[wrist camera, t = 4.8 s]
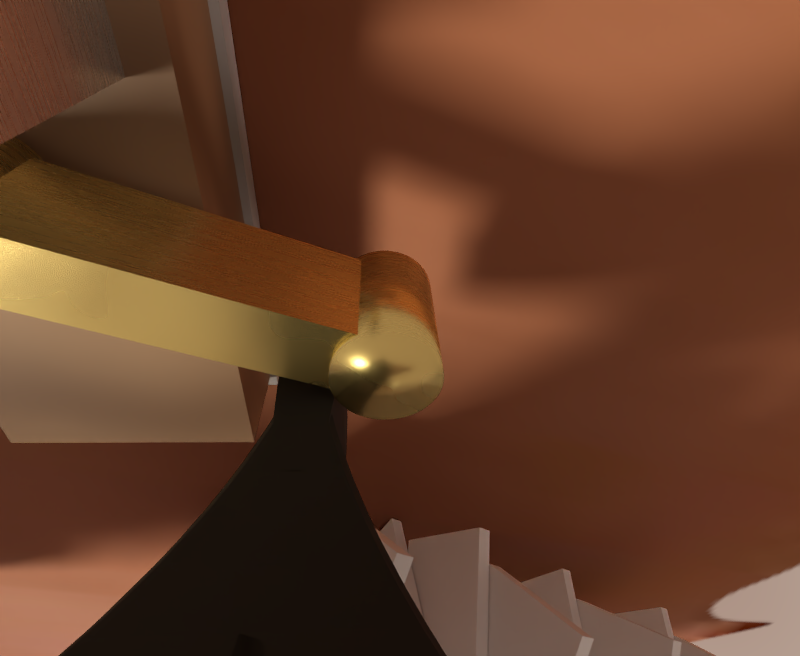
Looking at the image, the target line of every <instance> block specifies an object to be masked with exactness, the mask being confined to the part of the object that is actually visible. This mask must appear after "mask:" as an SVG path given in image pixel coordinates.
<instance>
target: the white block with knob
mask: <svg viewBox="0 0 800 656" xmlns="http://www.w3.org/2000/svg"><path fill="white" fill-rule="evenodd" d="M123 78H125V75H124V71H123V67H122V64H121V60H120V56H119V53H118V49H117V45H116V42H115V38H114V34H113V31H112V27H111V23H110V19H109V16H108V12H107V8H106V5H105V1H104V0H0V145H1V144H2V143H4V142H6V141H8V140H10V139H12V138H14V137H15V136H17V135H19V134H21V133H23V132H25V131H27V130H28V129H30V128H32V127H34V126H36V125H38V124H40V123H41V122H43V121H45V120H47V119H49V118H51V117H53V116H55V115H56V114H58V113H60V112H62V111H64V110H66V109H68V108H69V107H71V106H73V105H75V104H77V103H79V102H81V101H82V100H84V99H86V98H88V97H90V96H92V95H94V94H95V93H97V92H99V91H101V90H103V89H105V88H107V87H108V86H110V85H112V84H114V83H116V82H118V81H120V80H121V79H123Z"/></svg>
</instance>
